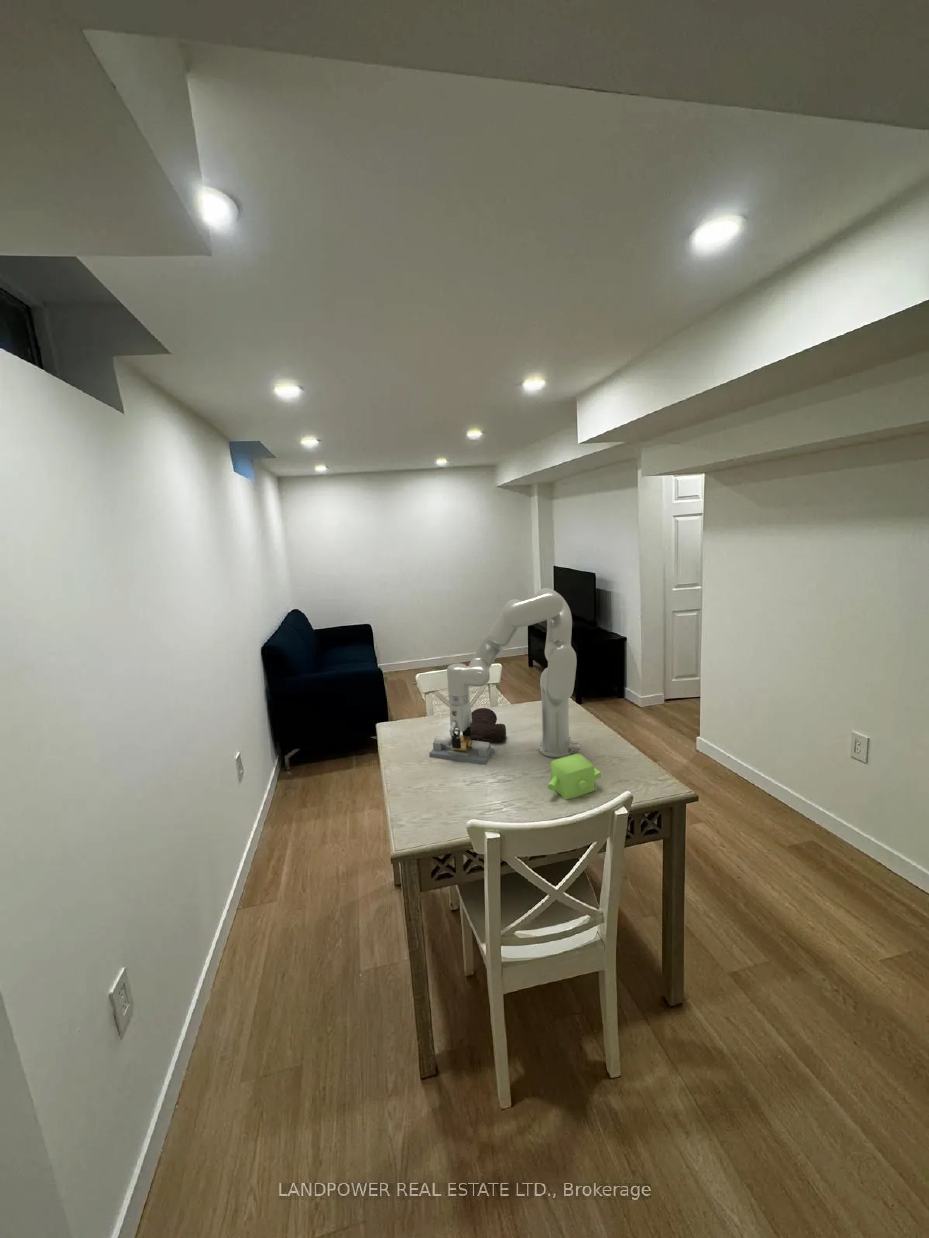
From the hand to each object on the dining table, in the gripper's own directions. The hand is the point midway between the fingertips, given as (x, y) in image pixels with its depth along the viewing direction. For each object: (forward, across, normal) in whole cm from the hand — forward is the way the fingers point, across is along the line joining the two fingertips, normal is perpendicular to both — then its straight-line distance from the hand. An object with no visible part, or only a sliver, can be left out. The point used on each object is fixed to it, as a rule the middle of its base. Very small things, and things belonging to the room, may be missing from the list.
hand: (461, 742), depth 180 cm
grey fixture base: (+5, 0, 0) cm, 5 cm away
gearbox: (+5, -13, -42) cm, 45 cm away
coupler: (+3, 0, 0) cm, 3 cm away
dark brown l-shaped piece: (+5, +18, -3) cm, 19 cm away
